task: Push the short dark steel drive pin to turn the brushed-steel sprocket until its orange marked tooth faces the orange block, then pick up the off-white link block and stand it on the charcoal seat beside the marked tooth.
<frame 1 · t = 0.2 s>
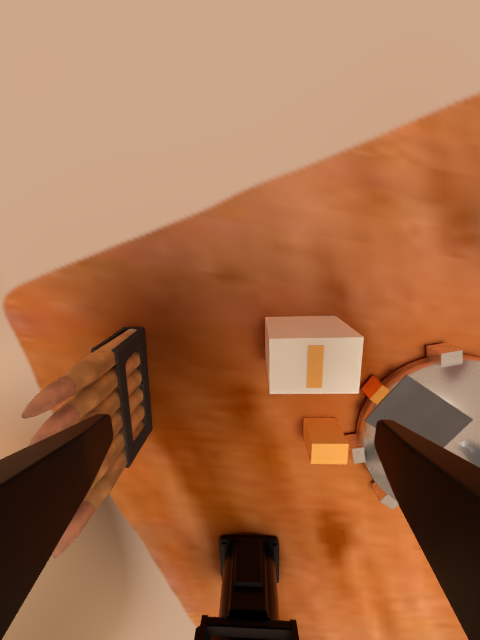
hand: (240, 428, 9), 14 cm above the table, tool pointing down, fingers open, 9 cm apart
sprocket: (456, 445, 22), point 2 cm above the table, hinge at -35.0°
link block: (299, 338, 23), on the table
ammunition clip: (139, 379, 25), on the table
orange block: (319, 426, 25), on the table
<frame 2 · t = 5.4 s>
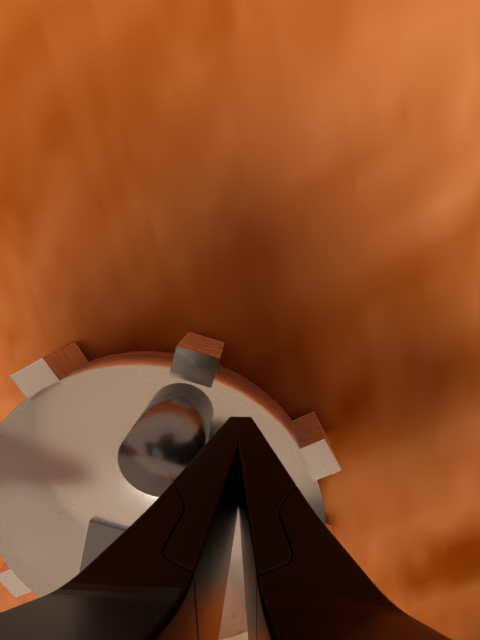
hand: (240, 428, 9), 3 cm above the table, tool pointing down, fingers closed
sprocket: (147, 536, 11), point 2 cm above the table, hinge at -34.7°, touching gripper
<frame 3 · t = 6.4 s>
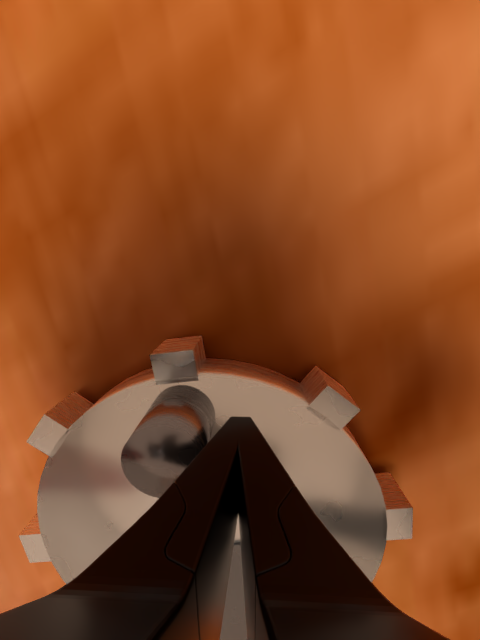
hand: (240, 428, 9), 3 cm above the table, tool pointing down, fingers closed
sprocket: (207, 545, 11), point 2 cm above the table, hinge at -10.8°, touching gripper
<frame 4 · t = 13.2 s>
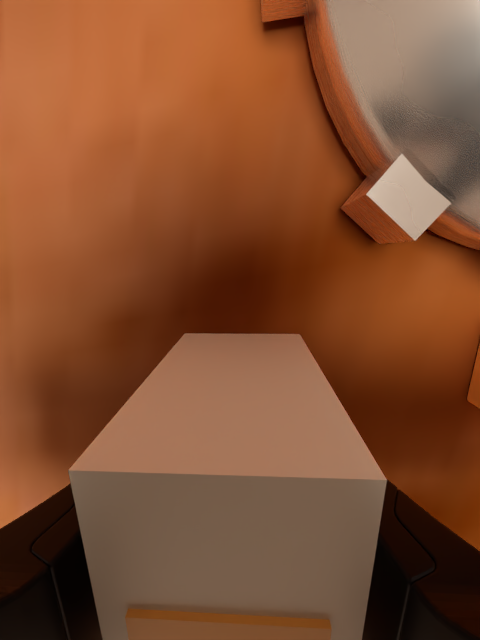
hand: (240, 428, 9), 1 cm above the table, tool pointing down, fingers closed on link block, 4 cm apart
link block: (242, 410, 10), on the table, touching gripper
when the fingers open (5 cm above the table, at t = 18.0 s): link block drops 1 cm, resting on sprocket.
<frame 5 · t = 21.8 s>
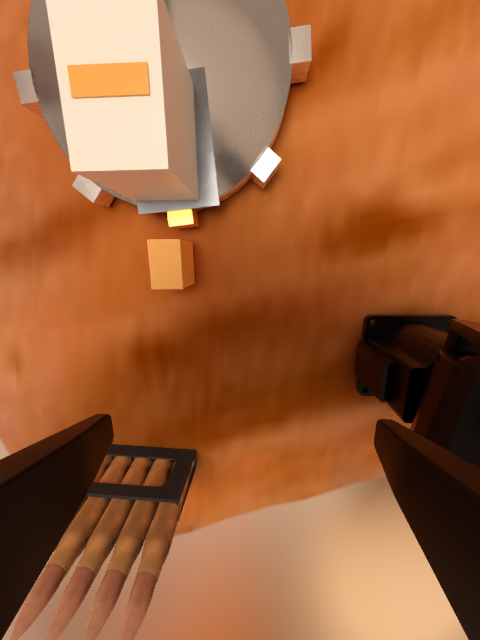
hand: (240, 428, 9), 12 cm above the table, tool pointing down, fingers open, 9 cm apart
sprocket: (156, 61, 14), point 2 cm above the table, hinge at 5.2°, touching link block
link block: (162, 145, 16), point 2 cm above the table, touching sprocket
ammunition clip: (139, 452, 24), on the table
orange block: (180, 263, 19), on the table
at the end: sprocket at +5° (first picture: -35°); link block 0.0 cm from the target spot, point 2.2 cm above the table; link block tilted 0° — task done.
